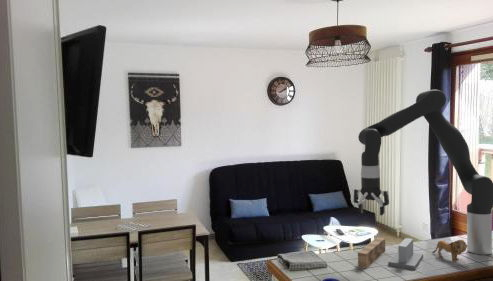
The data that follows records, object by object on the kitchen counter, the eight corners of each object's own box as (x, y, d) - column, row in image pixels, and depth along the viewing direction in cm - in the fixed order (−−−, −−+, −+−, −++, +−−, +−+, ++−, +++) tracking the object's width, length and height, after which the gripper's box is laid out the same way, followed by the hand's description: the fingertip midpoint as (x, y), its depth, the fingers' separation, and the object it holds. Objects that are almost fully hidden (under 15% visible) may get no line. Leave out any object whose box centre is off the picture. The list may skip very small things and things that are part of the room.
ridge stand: (398, 253, 172) (398, 235, 171) (423, 257, 166) (422, 238, 166) (388, 265, 159) (388, 245, 158) (414, 269, 153) (414, 249, 153)
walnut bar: (377, 250, 178) (377, 237, 178) (385, 251, 176) (385, 238, 176) (358, 267, 159) (357, 252, 159) (366, 268, 157) (366, 254, 156)
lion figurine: (469, 261, 159) (469, 239, 159) (462, 264, 157) (462, 242, 156) (435, 252, 172) (435, 232, 171) (428, 255, 169) (427, 234, 168)
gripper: (390, 175, 165) (391, 214, 165) (357, 174, 173) (357, 210, 174) (385, 178, 159) (386, 217, 159) (350, 176, 167) (351, 214, 168)
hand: (371, 214), depth 167 cm, fingers open, 8 cm apart
